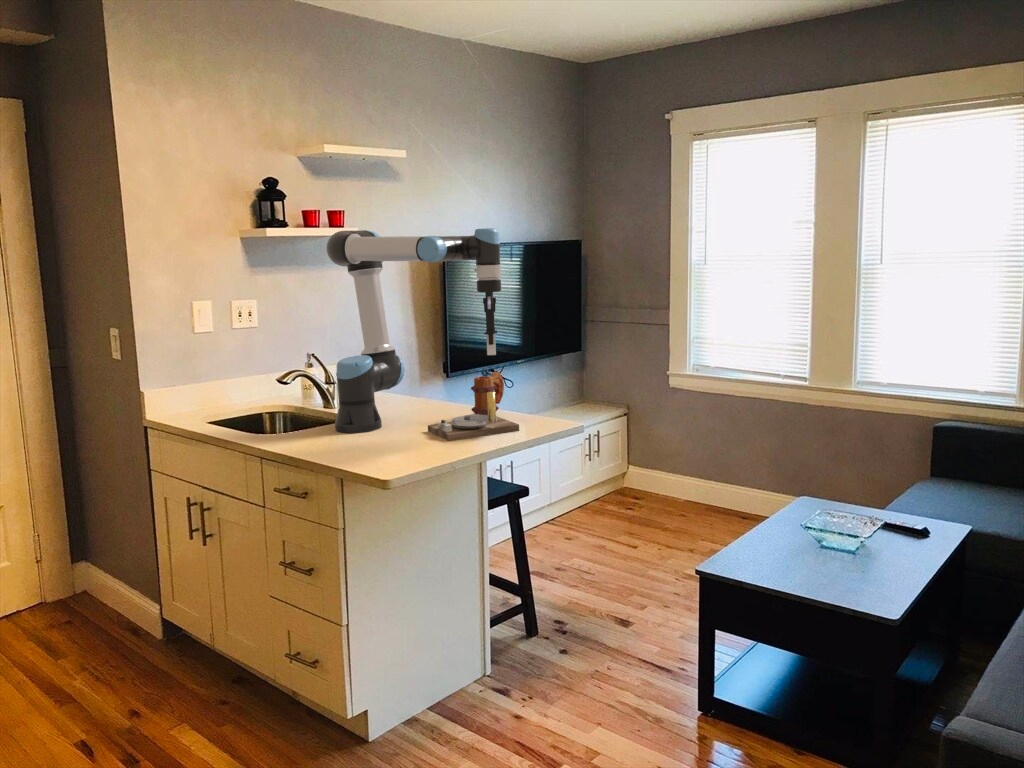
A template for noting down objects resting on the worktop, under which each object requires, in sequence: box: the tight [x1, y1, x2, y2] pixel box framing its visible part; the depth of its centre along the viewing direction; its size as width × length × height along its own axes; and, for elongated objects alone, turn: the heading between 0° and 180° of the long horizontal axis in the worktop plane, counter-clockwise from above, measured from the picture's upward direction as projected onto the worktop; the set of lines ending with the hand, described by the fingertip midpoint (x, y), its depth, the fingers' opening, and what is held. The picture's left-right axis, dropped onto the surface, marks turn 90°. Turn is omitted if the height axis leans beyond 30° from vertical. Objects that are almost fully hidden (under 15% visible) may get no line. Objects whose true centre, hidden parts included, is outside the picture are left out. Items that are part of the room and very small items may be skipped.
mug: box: [470, 371, 505, 415], centre depth 282 cm, size 15×8×15 cm, turn 143°
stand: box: [427, 416, 520, 442], centre depth 262 cm, size 17×24×5 cm
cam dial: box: [450, 391, 498, 429], centre depth 258 cm, size 16×11×11 cm
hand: (491, 354), depth 260 cm, fingers closed
